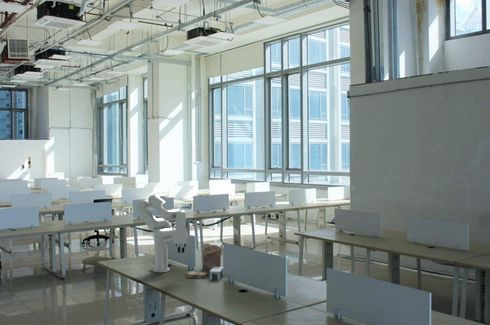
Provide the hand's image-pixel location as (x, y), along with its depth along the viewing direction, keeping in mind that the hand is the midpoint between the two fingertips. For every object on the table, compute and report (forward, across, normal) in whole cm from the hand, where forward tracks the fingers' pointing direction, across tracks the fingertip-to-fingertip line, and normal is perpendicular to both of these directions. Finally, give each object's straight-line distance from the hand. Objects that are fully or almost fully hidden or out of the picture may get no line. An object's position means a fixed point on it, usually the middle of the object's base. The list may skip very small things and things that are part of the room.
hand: (181, 252), depth 381 cm
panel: (+18, +12, 0) cm, 21 cm away
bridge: (+17, +26, 0) cm, 32 cm away
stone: (+17, +18, +19) cm, 32 cm away
